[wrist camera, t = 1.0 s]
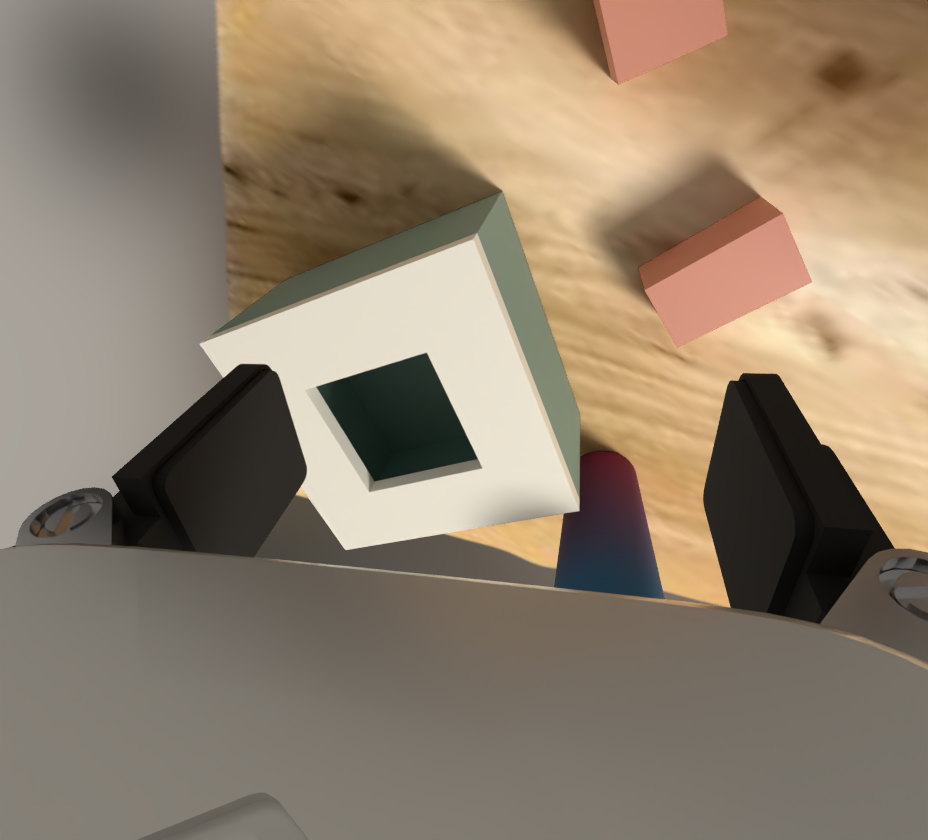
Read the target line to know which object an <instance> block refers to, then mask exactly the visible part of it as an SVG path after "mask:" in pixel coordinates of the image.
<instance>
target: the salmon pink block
mask: <svg viewBox="0 0 928 840" xmlns="http://www.w3.org/2000/svg"><path fill="white" fill-rule="evenodd" d="M593 3H594V7H595V11H596V16H597V20H598V24H599V29H600V33H601V37H602V42H603V46H604V50H605V54H606V59H607V63H608V67H609V72H610V76H611V79H612V80H613V81H615V82H616V83H617V84H618V85H619V84H621V83H623V82H625V81H628V80H630V79H632V78H634V77H637V76H639V75H641V74H643V73H645V72H648V71H650V70H652V69H654V68H657V67H659V66H661V65H663V64H666V63H668V62H670V61H672V60H674V59H677V58H679V57H681V56H683V55H686V54H688V53H690V52H692V51H694V50H697V49H699V48H701V47H703V46H706V45H708V44H710V43H712V42H714V41H717V40H719V39H721V38H723V37H726V36H728V35H727V27H726V20H725V12H724V5H723V0H593Z"/></svg>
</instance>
